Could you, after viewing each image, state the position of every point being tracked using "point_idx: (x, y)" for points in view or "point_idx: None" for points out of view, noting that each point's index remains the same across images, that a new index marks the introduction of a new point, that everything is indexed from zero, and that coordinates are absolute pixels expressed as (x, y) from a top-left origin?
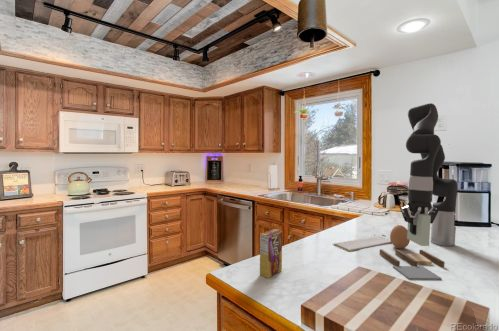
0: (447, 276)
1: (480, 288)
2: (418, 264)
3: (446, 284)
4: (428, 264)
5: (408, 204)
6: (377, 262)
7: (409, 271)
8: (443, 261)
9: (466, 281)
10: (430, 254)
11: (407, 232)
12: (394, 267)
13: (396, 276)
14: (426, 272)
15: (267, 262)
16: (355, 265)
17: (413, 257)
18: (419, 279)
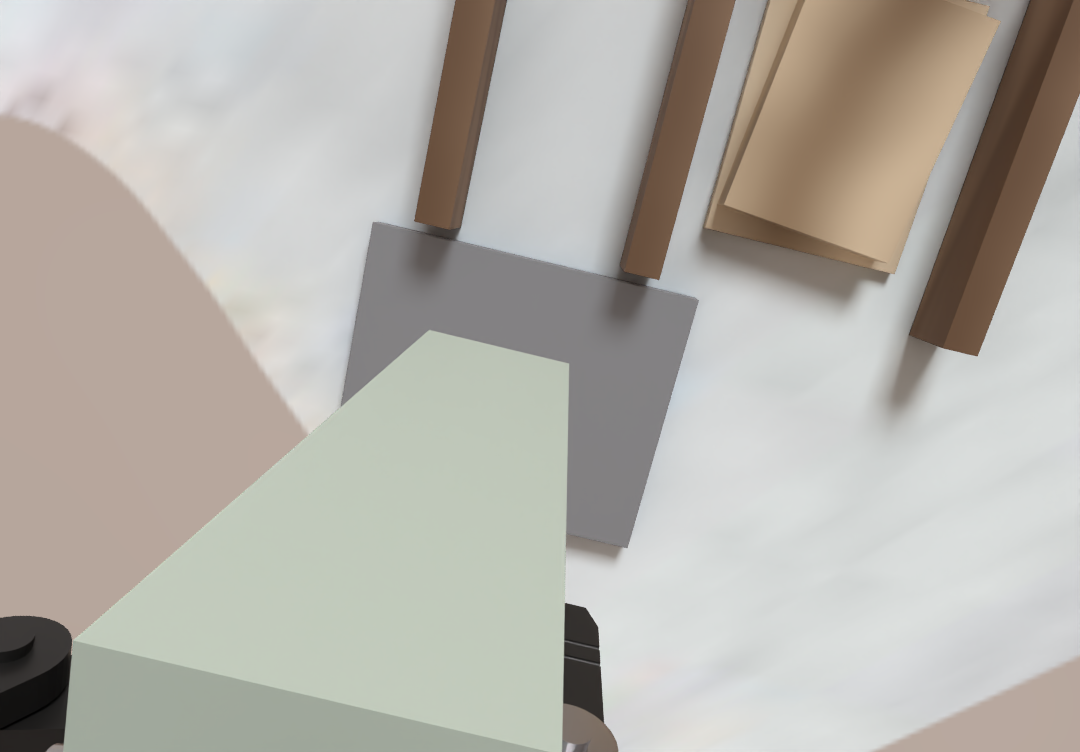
0: (762, 493)
1: (805, 704)
2: (723, 226)
3: (596, 597)
4: (838, 252)
5: None
6: (311, 49)
7: None
8: (972, 348)
9: (828, 600)
10: (1060, 124)
11: (402, 357)
12: (368, 252)
13: (277, 386)
14: (596, 427)
15: None
16: (9, 72)
17: (788, 103)
18: None
